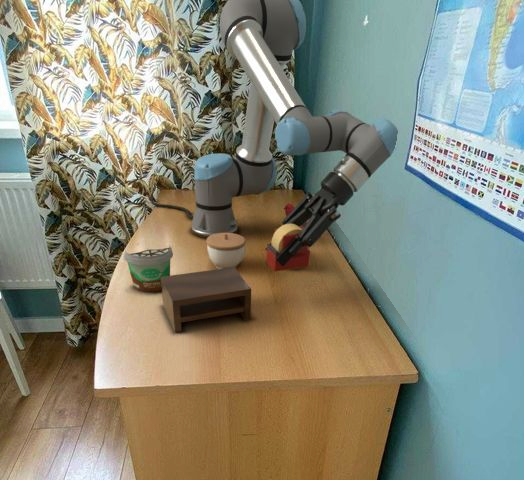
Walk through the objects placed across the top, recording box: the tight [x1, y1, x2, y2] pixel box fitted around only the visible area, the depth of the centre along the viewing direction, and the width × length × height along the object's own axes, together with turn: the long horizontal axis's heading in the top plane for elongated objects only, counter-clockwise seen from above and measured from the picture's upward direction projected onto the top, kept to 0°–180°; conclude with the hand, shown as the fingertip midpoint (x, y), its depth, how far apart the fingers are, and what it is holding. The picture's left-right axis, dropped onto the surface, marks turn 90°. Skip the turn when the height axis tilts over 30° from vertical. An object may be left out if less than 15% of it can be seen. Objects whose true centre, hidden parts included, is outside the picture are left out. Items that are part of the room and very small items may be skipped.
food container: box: [123, 244, 174, 293], centre depth 114 cm, size 12×6×10 cm, turn 117°
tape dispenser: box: [266, 224, 311, 272], centre depth 108 cm, size 5×9×10 cm, turn 112°
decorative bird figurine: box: [283, 203, 309, 229], centre depth 147 cm, size 3×18×10 cm, turn 43°
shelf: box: [161, 267, 252, 333], centre depth 106 cm, size 12×18×8 cm, turn 112°
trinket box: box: [206, 233, 246, 269], centre depth 128 cm, size 11×11×9 cm
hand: (274, 257), depth 108 cm, fingers closed on tape dispenser, 5 cm apart
